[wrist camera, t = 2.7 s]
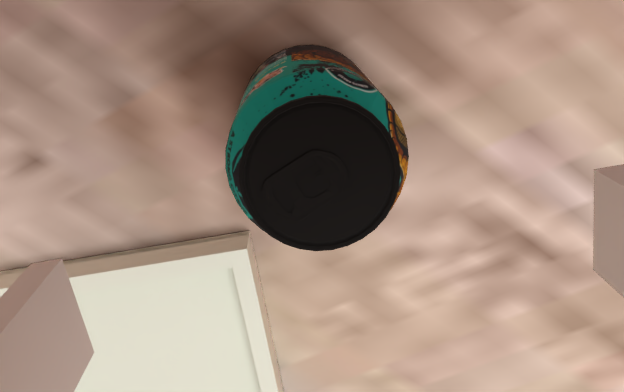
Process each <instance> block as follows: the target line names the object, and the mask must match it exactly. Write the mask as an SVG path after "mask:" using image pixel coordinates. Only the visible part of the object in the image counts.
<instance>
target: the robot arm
mask: <svg viewBox="0 0 624 392" xmlns="http://www.w3.org/2000/svg"><path fill="white" fill-rule="evenodd" d="M593 270H594V271H595V272H596V273H597V274H598V275H600V276H601V277H602V278H603V279H604V280H605V281H606V282H607V283H608V284H609V285H610V286H612V287H613V288H614V289H615V290H616V291H617V292H618V293H619V294H620V295H621V296H623V297H624V164H623V165H617V166H611V167H605V168H599V169H594V240H593ZM93 354H94V350H93V347H92V344H91V341H90V338H89V335H88V332H87V329H86V327H85V324H84V321H83V318H82V315H81V312H80V309H79V306H78V303H77V301H76V298H75V295H74V292H73V289H72V286H71V283H70V280H69V277H68V275H67V272H66V269H65V266H64V263H63V260H62V258H61V259H55V260H49V261H43V262H37V263H31V264H30V265H29V266H28V268H27V269H26V270H25V271H24V272H23V273H22V274H21V275H20V276H19V277H18V279H17V280H16V281H15V282H14V283H13V284H12V285H11V286H10V287H9V288H8V290H7V291H6V292H5V293H4V294H3V295H2V296H1V297H0V392H74V391H75V389H76V387H77V385H78V383H79V381H80V379H81V377H82V375H83V373H84V371H85V370H86V368H87V366H88V364H89V362H90V360H91V358H92V356H93Z"/></svg>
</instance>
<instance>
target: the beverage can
mask: <svg viewBox="0 0 624 392" xmlns="http://www.w3.org/2000/svg"><path fill="white" fill-rule="evenodd" d="M408 157H409V156H408V146H407V138H406V135H405V132H404V129H403V126H402V123H401V120H400V119H399V117H398V115H397V114H396V112H395V110H394V109H393V107H392V105H391V104H390V103H389V102H388V101H387V100H386V98H385V97H384V96H383V95H382V94H381V93H380V92H379V91H378V90H377V88H376V87H375V86H374V85H373V84H372V83H371V82H370V81H369V80H368V78H367V77H366V76H365V75H364V74H363V73H362V72H361V71H360V70H359V68H358V67H357V66H356V65H355V64H354V63H353V62H352V61H351V60H349V59H348V58H346V57H345V56H343V55H342V54H340V53H339V52H337V51H334V50H331V49H329V48H326V47H321V46H315V45H303V46H295V47H291V48H288V49H284V50H282V51H280V52H278V53H276V54H275V55H273V56H271V57H270V58H268V59H267V60H266V61H265V62H264V63H263V64H261V65H260V66H259V68H258V69H257V70H256V72H255V73H254V74H253V76H252V77H251V79H250V81H249V83H248V85H247V87H246V90H245V92H244V95H243V98H242V100H241V103H240V106H239V108H238V111H237V113H236V116H235V119H234V121H233V124H232V127H231V129H230V133H229V137H228V141H227V146H226V172H227V177H228V181H229V186H230V188H231V190H232V193H233V195H234V197H235V199H236V201H237V203H238V205H239V206H240V207H241V209H242V210H243V211H244V213H245V214H246V215H247V216H248V218H249V219H250V220H251V221H252V222H254V223H255V224H256V225H257V226H258V227H259V228H260V229H262V230H263V231H265V232H266V233H268V234H269V235H270V236H271V237H273V238H275V239H277V240H278V241H280V242H282V243H284V244H286V245H289V246H292V247H295V248H298V249H304V250H312V251H323V250H334V249H337V248H341V247H345V246H348V245H350V244H352V243H355V242H357V241H359V240H361V239H363V238H364V237H365V236H367V235H368V234H369V233H371V232H372V231H373V230H375V229H376V228H377V227H378V225H379V224H380V223H381V222H382V221H383V220H384V219H385V218H386V216H387V215H388V213H389V211H390V210H391V209H392V207H393V205H394V204H395V202H396V200H397V198H398V197H399V195H400V193H401V190H402V187H403V184H404V181H405V178H406V175H407V166H408Z"/></svg>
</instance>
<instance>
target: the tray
mask: <svg viewBox="0 0 624 392" xmlns="http://www.w3.org/2000/svg"><path fill="white" fill-rule="evenodd" d="M63 263H64V266H65V269H66V272H67V275H68V277H69V280H70V283H71V286H72V289H73V292H74V295H75V298H76V301H77V303H78V306H79V309H80V312H81V315H82V318H83V321H84V324H85V327H86V329H87V332H88V335H89V338H90V341H91V344H92V347H93V350H94V354H93V356H92V358H91V360H90V362H89V364H88V366H87V368H86V370H85V371H84V373H83V375H82V377H81V379H80V381H79V383H78V385H77V387H76V389H75V391H74V392H284V389H283V384H282V380H281V375H280V370H279V366H278V361H277V356H276V352H275V347H274V342H273V338H272V333H271V328H270V324H269V319H268V314H267V310H266V305H265V300H264V296H263V291H262V286H261V282H260V277H259V272H258V268H257V263H256V258H255V254H254V249H253V244H252V240H251V235H250V231H244V232H238V233H232V234H226V235H219V236H213V237H207V238H201V239H195V240H189V241H183V242H177V243H171V244H165V245H158V246H152V247H146V248H140V249H134V250H128V251H122V252H116V253H110V254H103V255H97V256H91V257H85V258H79V259H73V260H67V261H63ZM27 268H28V267H24V268H18V269H12V270H6V271H0V297H1V296H2V295H3V294H4V293H5V292H6V291H7V290H8V288H9V287H10V286H11V285H12V284H13V283H14V282H15V281H16V280H17V279H18V277H19V276H20V275H21V274H22V273H23V272H24V271H25V270H26V269H27Z"/></svg>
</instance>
